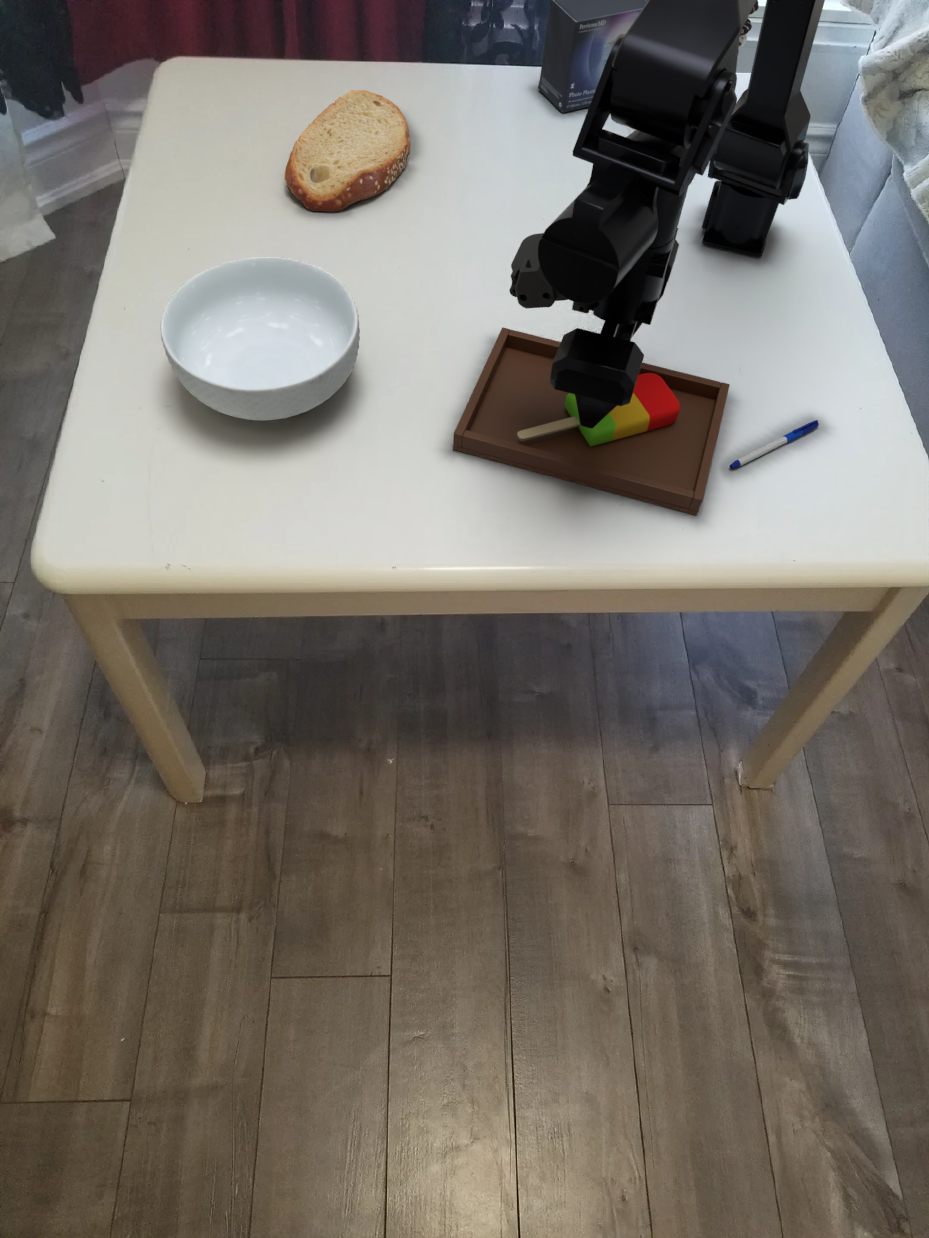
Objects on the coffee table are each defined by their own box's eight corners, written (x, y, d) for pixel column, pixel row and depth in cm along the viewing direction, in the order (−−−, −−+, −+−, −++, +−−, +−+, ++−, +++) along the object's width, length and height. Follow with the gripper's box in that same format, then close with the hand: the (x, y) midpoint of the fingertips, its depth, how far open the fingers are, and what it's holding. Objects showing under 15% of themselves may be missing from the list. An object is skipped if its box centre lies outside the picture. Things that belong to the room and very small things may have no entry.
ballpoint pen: (811, 422, 84) (815, 414, 83) (818, 428, 83) (822, 420, 82) (727, 467, 80) (730, 459, 79) (734, 474, 80) (737, 466, 79)
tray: (723, 400, 84) (729, 384, 83) (696, 515, 77) (702, 500, 75) (500, 344, 87) (502, 327, 86) (452, 449, 80) (453, 433, 78)
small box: (562, 116, 110) (575, 21, 101) (536, 90, 113) (546, -5, 104) (636, 98, 113) (654, 4, 104) (607, 73, 116) (623, -20, 107)
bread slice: (379, 100, 110) (378, 68, 107) (456, 177, 102) (457, 145, 99) (240, 137, 104) (235, 104, 101) (310, 222, 96) (306, 189, 93)
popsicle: (681, 423, 82) (687, 408, 80) (530, 466, 78) (532, 451, 77) (652, 383, 85) (657, 367, 83) (504, 422, 81) (506, 406, 79)
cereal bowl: (159, 341, 85) (140, 276, 79) (330, 304, 89) (324, 239, 83) (201, 469, 77) (183, 407, 71) (388, 422, 81) (386, 360, 75)
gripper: (560, 135, 71) (537, 301, 84) (491, 276, 61) (477, 440, 75) (701, 166, 70) (655, 330, 83) (653, 315, 60) (610, 476, 73)
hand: (599, 389), depth 78 cm, fingers open, 9 cm apart
